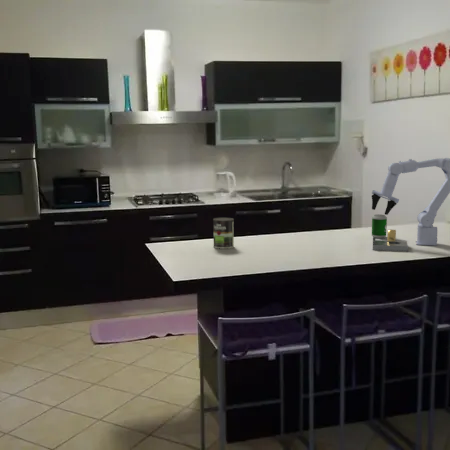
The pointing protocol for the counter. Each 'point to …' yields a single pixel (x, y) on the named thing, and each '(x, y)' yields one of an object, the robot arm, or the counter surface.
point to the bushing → (391, 235)
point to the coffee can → (223, 232)
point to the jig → (390, 245)
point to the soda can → (379, 226)
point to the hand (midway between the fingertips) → (379, 212)
